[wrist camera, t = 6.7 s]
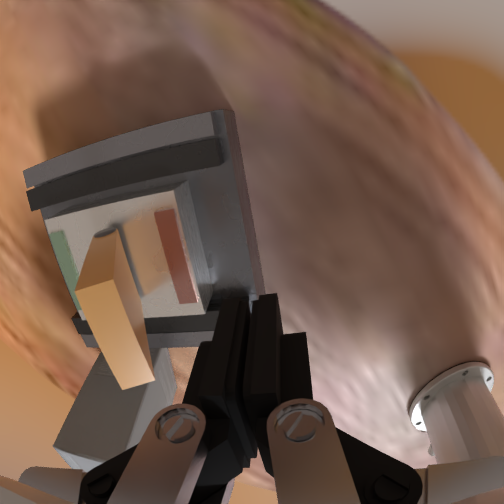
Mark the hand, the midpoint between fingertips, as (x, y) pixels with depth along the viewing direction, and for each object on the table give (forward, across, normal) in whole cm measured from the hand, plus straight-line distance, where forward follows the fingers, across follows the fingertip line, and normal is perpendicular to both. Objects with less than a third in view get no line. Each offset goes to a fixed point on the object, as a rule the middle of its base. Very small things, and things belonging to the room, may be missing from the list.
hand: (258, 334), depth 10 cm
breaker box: (+17, +9, +1) cm, 19 cm away
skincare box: (+17, +15, +16) cm, 28 cm away
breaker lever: (+9, +10, +1) cm, 13 cm away
